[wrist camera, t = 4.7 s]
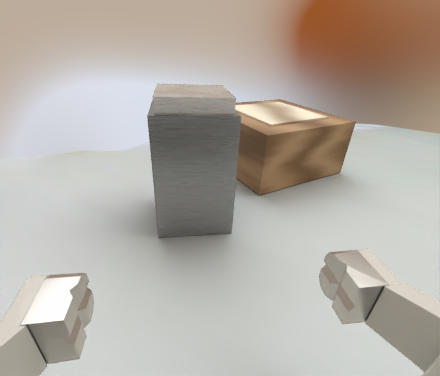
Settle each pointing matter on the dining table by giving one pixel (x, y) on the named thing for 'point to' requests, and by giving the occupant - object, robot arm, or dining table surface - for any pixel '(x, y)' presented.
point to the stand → (288, 144)
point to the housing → (194, 158)
